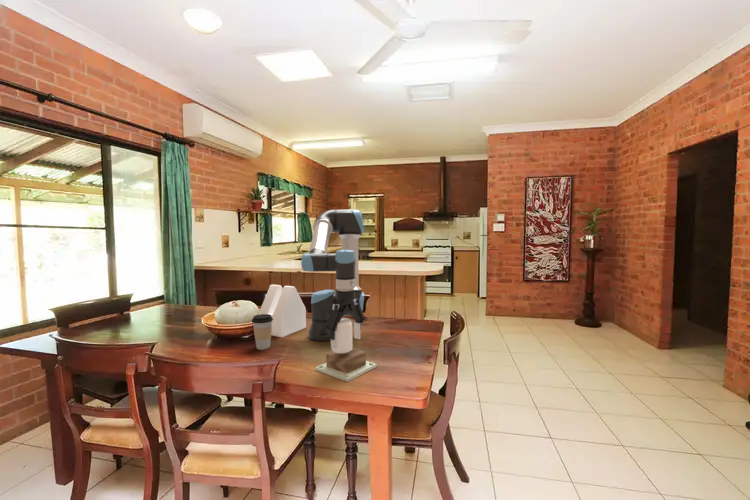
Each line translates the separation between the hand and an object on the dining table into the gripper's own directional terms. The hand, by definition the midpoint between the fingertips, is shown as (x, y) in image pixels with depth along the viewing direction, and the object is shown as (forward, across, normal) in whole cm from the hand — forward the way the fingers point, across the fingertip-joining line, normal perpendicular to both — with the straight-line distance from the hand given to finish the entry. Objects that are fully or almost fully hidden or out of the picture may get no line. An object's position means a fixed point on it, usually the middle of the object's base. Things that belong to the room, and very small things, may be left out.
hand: (346, 342), depth 137 cm
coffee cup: (+11, -6, +47) cm, 49 cm away
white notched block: (+11, +16, +61) cm, 64 cm away
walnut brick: (+9, 0, 0) cm, 9 cm away
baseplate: (+10, 0, 0) cm, 10 cm away
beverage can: (+3, -2, 0) cm, 3 cm away
